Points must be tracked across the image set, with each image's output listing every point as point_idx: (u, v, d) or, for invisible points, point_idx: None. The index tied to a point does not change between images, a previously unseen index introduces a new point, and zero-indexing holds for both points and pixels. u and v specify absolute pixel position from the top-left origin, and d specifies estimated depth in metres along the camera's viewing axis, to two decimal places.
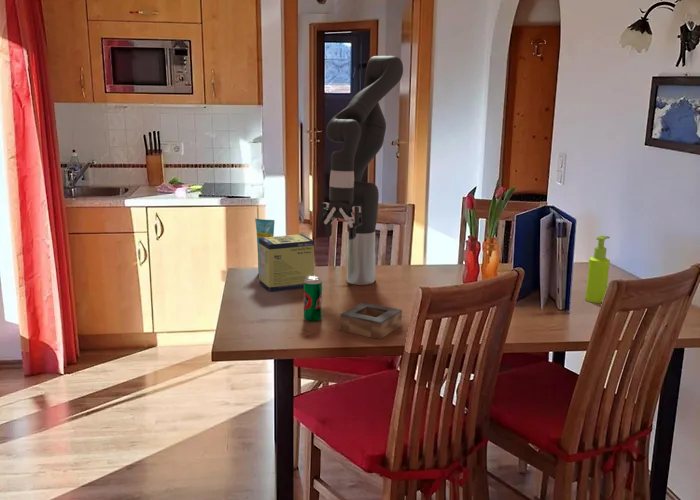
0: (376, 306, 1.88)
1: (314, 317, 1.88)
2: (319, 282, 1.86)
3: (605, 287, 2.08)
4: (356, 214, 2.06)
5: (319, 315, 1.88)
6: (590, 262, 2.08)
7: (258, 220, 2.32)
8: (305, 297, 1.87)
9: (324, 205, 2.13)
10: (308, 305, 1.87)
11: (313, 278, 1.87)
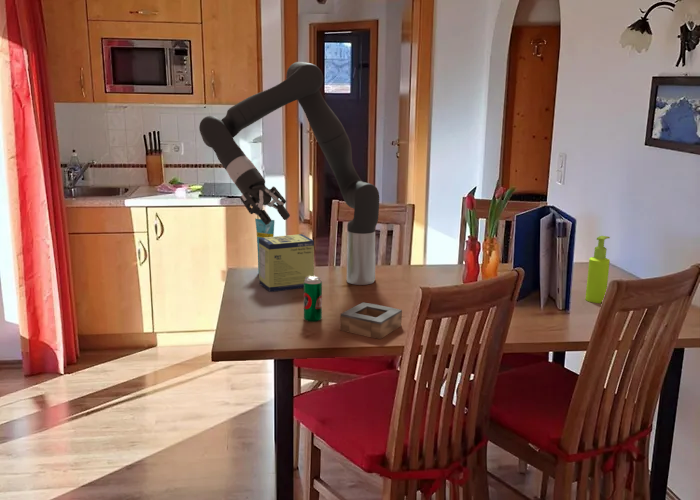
0: (376, 306, 1.88)
1: (314, 317, 1.88)
2: (319, 282, 1.86)
3: (605, 287, 2.08)
4: None
5: (319, 315, 1.88)
6: (590, 262, 2.08)
7: (258, 220, 2.32)
8: (305, 297, 1.87)
9: None
10: (308, 305, 1.87)
11: (313, 278, 1.87)
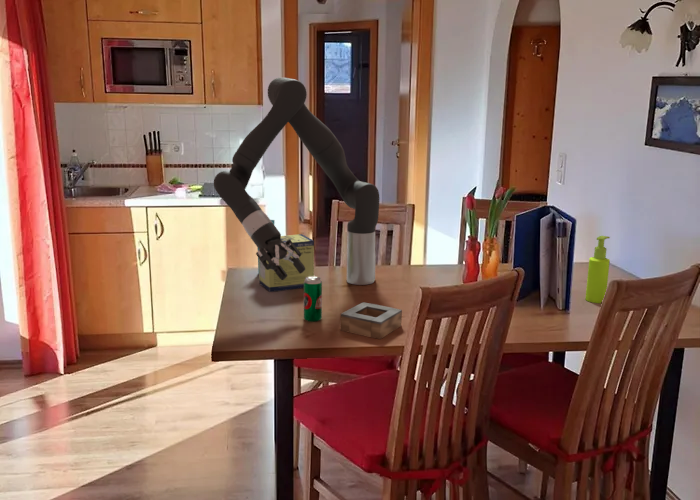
0: (376, 306, 1.88)
1: (314, 317, 1.88)
2: (319, 282, 1.86)
3: (605, 287, 2.08)
4: None
5: (319, 315, 1.88)
6: (590, 262, 2.08)
7: None
8: (305, 297, 1.87)
9: None
10: (308, 305, 1.87)
11: (313, 278, 1.87)
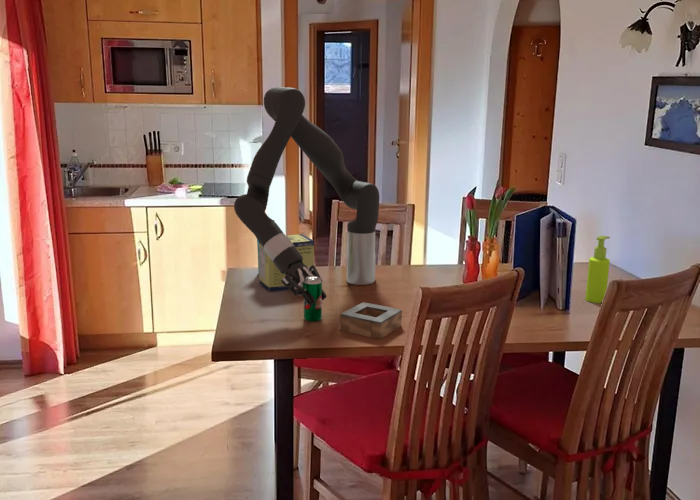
0: (376, 306, 1.88)
1: (314, 317, 1.88)
2: (319, 282, 1.86)
3: (605, 287, 2.08)
4: None
5: (319, 315, 1.88)
6: (590, 262, 2.08)
7: None
8: None
9: None
10: (308, 305, 1.87)
11: (313, 278, 1.87)
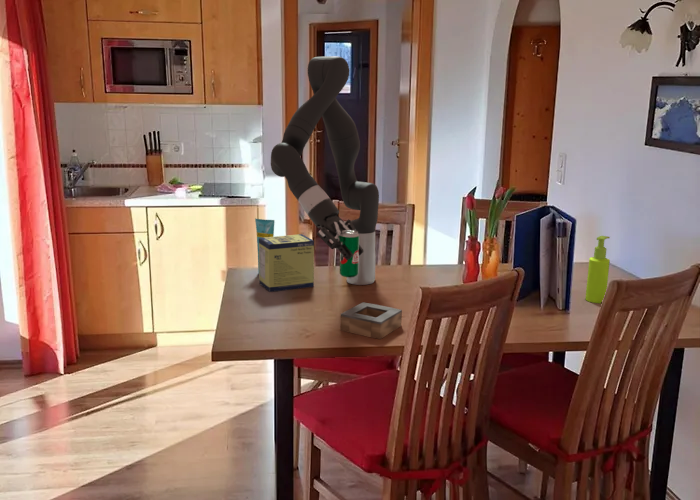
0: (376, 306, 1.88)
1: (351, 272, 1.80)
2: (356, 235, 1.79)
3: (605, 287, 2.08)
4: None
5: (356, 270, 1.81)
6: (590, 262, 2.08)
7: (258, 220, 2.32)
8: None
9: None
10: (345, 259, 1.80)
11: (350, 231, 1.80)
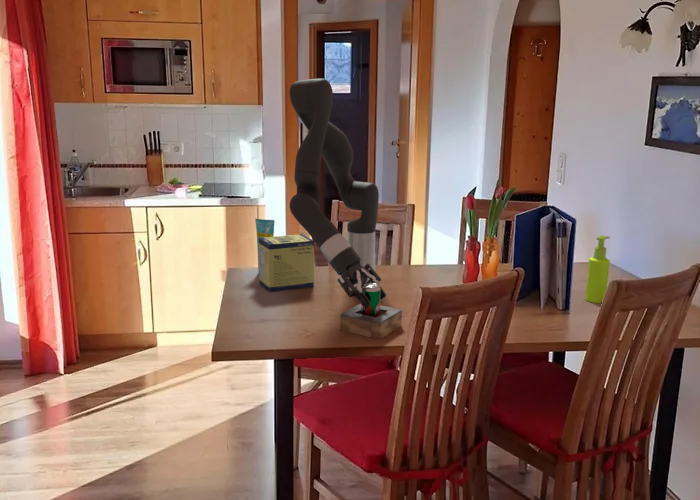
0: None
1: None
2: (378, 289, 1.80)
3: (605, 287, 2.08)
4: None
5: None
6: (590, 262, 2.08)
7: (258, 220, 2.32)
8: None
9: None
10: (367, 313, 1.81)
11: (372, 285, 1.81)
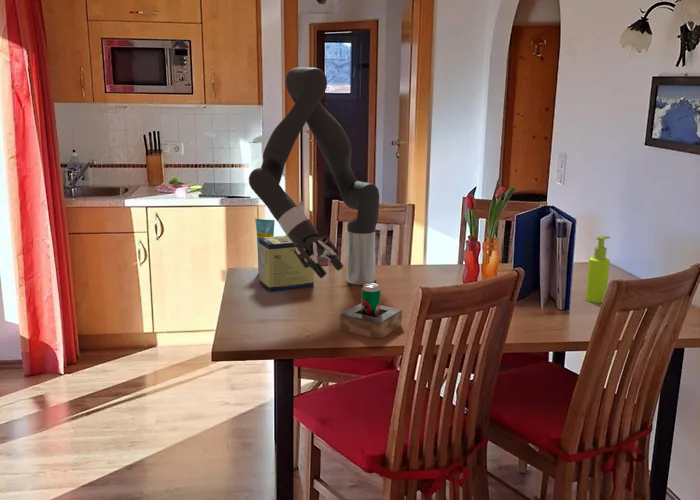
0: None
1: None
2: (378, 289, 1.80)
3: (605, 287, 2.08)
4: None
5: None
6: (590, 262, 2.08)
7: (258, 220, 2.32)
8: (364, 305, 1.81)
9: None
10: (367, 313, 1.81)
11: (372, 285, 1.81)
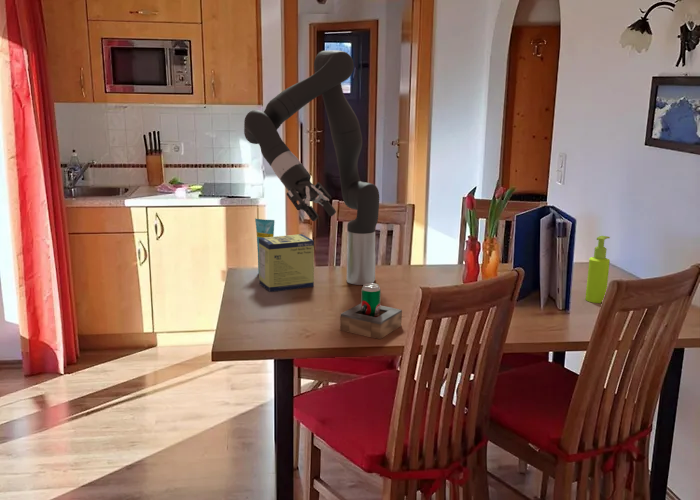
0: None
1: None
2: (378, 289, 1.80)
3: (605, 287, 2.08)
4: None
5: None
6: (590, 262, 2.08)
7: (258, 220, 2.32)
8: (364, 305, 1.81)
9: None
10: (367, 313, 1.81)
11: (372, 285, 1.81)
